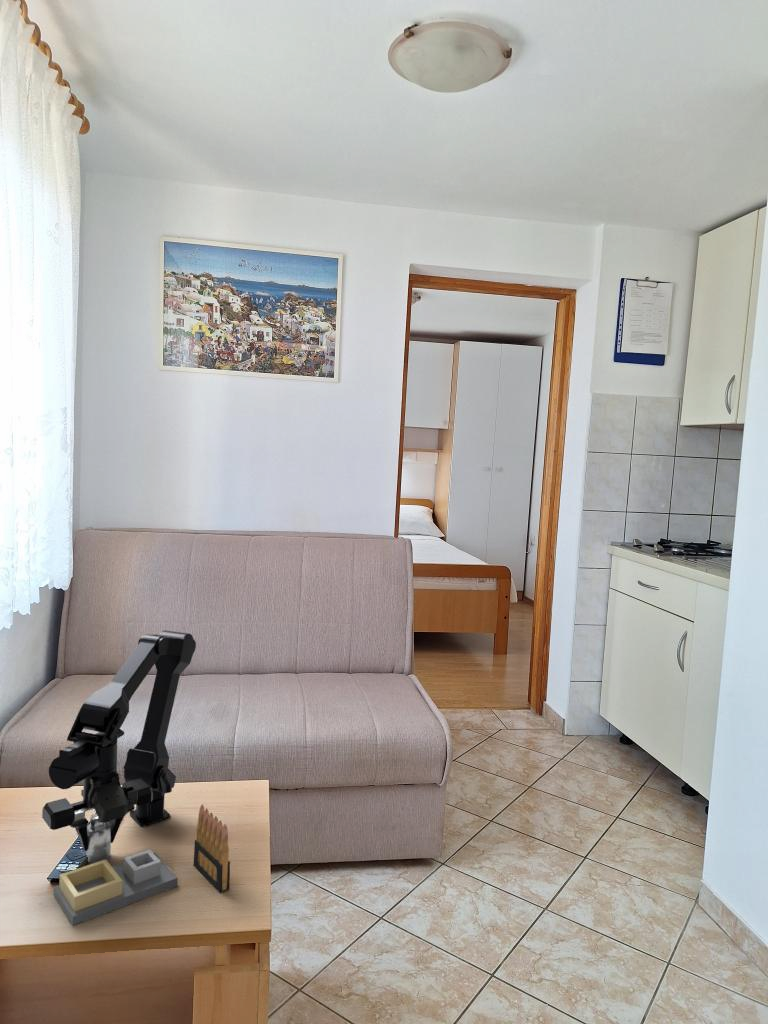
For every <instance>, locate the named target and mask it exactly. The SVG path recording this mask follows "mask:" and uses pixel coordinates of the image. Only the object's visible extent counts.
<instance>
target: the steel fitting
mask: <svg viewBox="0 0 768 1024" xmlns="http://www.w3.org/2000/svg"><path fill="white" fill-rule="evenodd" d="M89 823H90V824H89ZM89 823H88V825H87V836H88V849H87V851H85V853H86V855H87V857H88V862H89V863H88V865H90V864H93V863H96V862H99V861H102V860H105V859H106V860H107V861H109V859H110V858H111V850H112V849H111V847H112V846H111V844H112V843H111V823H109V822H106V823H102V822H100V821H99V819H98V816H97V813H96V812H95V813H93V814H92V815H91V816H90V822H89Z"/></svg>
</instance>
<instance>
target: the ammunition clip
mask: <svg viewBox="0 0 768 1024" xmlns="http://www.w3.org/2000/svg"><path fill="white" fill-rule="evenodd" d="M229 847H230V846H229V831H228V826H227V824H225V823H224V825H223V822H222V819H221V820H220V819H219V820H218V817H217V815H215V816H214V813H213V812H212V811H211V812H209V809H208V808H205V806H204V804H201V806H200V808H199V812H198V820H197V826H196V839H194V847H193V849H194V850H193V851H194V852H193V864H192V865H193V867H194V868H195V869H196V870H197V871H198V873H200V874H201V875H202V876H203V877H204V878H205V879H206V881H208V883H210V885H211V886H213V888H214V889H215V890H216V891H217V892H218V893H219V894H221V893H224V892H225V891H228V890H230V883H231V882H230V880H231V879H230V877H231V874H230V872H231V862H230V860H229V857H230V856H229V852H230V851H229V850H230V849H229Z"/></svg>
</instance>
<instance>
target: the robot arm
mask: <svg viewBox="0 0 768 1024" xmlns="http://www.w3.org/2000/svg"><path fill="white" fill-rule="evenodd" d="M196 647H197V643H196V640H195V639H194V636H193V635H192V634H191V633H188V632H182V631H181V632H180V631H172V630H167V629H166V630H162V631H161V632H160V633H159V634H144V635H141V636H140V638H139V639H138V643H137V645H136V647H135V648H134V650H133V651H132V653H131V654H130V655H129V656H128V658H127V659H126V661H125V662H124V663H123V664H122V665H121V667H120V668H119V670H118V671H117V672H116V674H115V675H114V676H113V678H112V679H111V680H110V682H109V683H108V684H107V685H105V686H104V687H102V688H100V689H98V690H96V691H94V692H93V693H92V694H91V695H90V696H89V697H88V698H87V699H86V700H85V701H84V702H83V704H82V705H81V707H80V708H79V711H78V713H77V715H76V718H75V720H74V722H73V723H72V727H71V728H70V731H69V733H68V736H67V737H66V741H67V742H71V743H72V742H73V744H70V745H67V746H65V747H63V748H61V749H59V751H58V756H57V757H56V758H54V759H53V760H52V761H51V763H50V764H49V765H50V766H49V767H48V776H49V779H50V780H51V781H50V782H51V783H52V784H53V785H54V786H56V788H58V789H61V790H68V789H70V788H72V787H74V786H75V785H77V784H79V783H80V782H82V781H83V786H82V787H83V789H80V790H81V791H80V793H81V794H80V795H81V796H82V800H79V801H77V802H72V803H70V801H69V800H68V799H67V798H66V797H65V798H61V799H56V800H53V801H49V802H46V803H45V805H44V806H43V807H42V812H41V813H42V815H41V818H42V820H43V821H44V822H45V824H47V827H48V828H49V829H50V830H53V831H54V830H55V831H57V830H59V829H63V828H66V827H69V826H70V827H71V828H75V829H74V830H75V831H76V834H77V837H78V839H79V841H80V844H81V847H82V849H83V851H84V852H86V851H87V849H88V836H87V826H88V825H89V823H90V822H89V820H88V819H87V818H86V812H89V811H91V810H94V811H95V814H96V813H97V816H98V819H99V821H100V822H102V823H106V822H109V823H111V844H113V843H114V841H115V838H116V836H117V833H118V832H119V828H120V826H121V824H122V821H123V820H124V818H125V817H126V815H127V814H129V815H130V816H131V817H132V819H133V820H134V821H135V822H136V823H137V824H138V825H139V826H141V827H144V826H147V825H150V824H153V823H157V822H160V821H163V820H166V819H169V818H171V814H170V812H168V811H167V809H165V796H166V795H165V794H169V793H171V792H173V788H175V784H176V781H177V780H176V778H177V776H176V775H175V774H174V773H173V772H172V771H171V770H170V769H169V762H170V761H169V760H170V756H169V753H168V750H167V746H166V740H167V734H168V730H169V726H170V720H171V717H172V711H173V708H174V704H175V699H176V696H177V695H176V693H177V691H178V685H179V681H180V677H181V674H182V673H183V672H184V671H185V670H186V669H187V668H188V666H190V665H191V662H192V658H193V655H194V653H195V651H196ZM153 667H155V669H156V674H155V677H154V683H153V686H152V691H151V695H150V699H149V703H148V709H147V710H146V711H147V712H146V717H145V721H144V725H143V728H142V734H141V736H140V741H139V742H138V743H137V744H136V745H135V746H134V747H132V748H131V747H130V748H129V749H128V751H127V754H126V760H125V762H124V765H123V767H122V768H123V778H124V780H125V782H123V784H122V785H121V782H120V775H119V774H120V773H119V772H118V771H117V770H118V769H117V768H118V767H117V765H118V763H117V762H118V739H119V738H121V737H123V736H124V735H125V731H124V730H123V729H121V727H122V726H123V724H124V722H125V720H126V718H127V716H128V714H129V712H130V701H131V699H132V697H133V695H134V694H135V692H136V691H138V688H139V687H140V685H141V684H142V682H143V681H144V680H145V678H146V677H147V675H148V674H149V673H150V671H151V669H152V668H153ZM83 730H86V731H93V732H96V733H90V732H85V731H83Z"/></svg>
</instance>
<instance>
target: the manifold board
mask: <svg viewBox="0 0 768 1024" xmlns="http://www.w3.org/2000/svg"><path fill="white" fill-rule="evenodd" d="M178 879H179V878H178V877H177V875H175V873H174V872H173V870H171V869H170V868H169V867H168V866H167V864H166V863H165V862H164V861H163V860H162V859H161V857H159V856H158V855H157V854H156V853H155V852H153V851H152V850H151V849H147V850H145V851H141V852H138V853H136V854H133V855H129V856H126V857H123V862H122V863H120V864H116V865H113V866H111V864H110V863H109V861H108V860H106V859H105V860H102V861H99V862H96V863H93V864H87V865H84V866H82V867H79V868H76V869H73V870H69V871H66V872H64V873H60V874H59V883H58V885H55V886H53V897H54V898H55V900H56V902H57V903H58V904H59V906H60V908H61V910H62V911H63V913H64V915H65V916H66V917H67V919H68V921H69V922H70V924H71V925H72V926H75V925H77V924H81V923H82V922H83V923H84V922H86V921H89V920H91V919H93V918H96V917H99V916H102V915H104V914H106V913H109V912H112V911H115V910H118V909H121V908H123V907H126V906H128V905H130V904H133V903H136V902H138V901H141V900H143V899H147V898H150V897H152V896H154V895H156V894H159V893H162V892H164V891H168V890H170V889H173V888H176V887H178V883H179V881H178Z"/></svg>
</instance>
